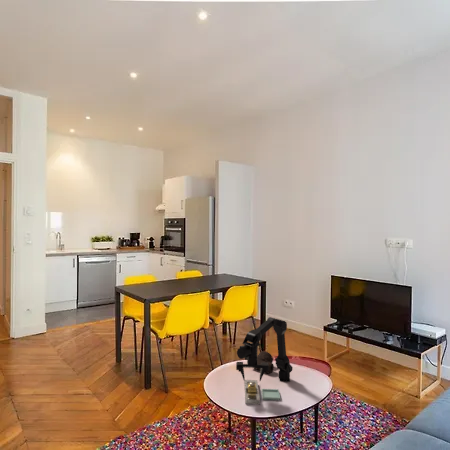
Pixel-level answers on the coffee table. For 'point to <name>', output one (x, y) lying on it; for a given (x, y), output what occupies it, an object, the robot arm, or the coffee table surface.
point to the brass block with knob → (251, 388)
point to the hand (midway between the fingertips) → (252, 380)
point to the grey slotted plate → (251, 397)
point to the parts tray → (270, 394)
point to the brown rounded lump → (265, 360)
